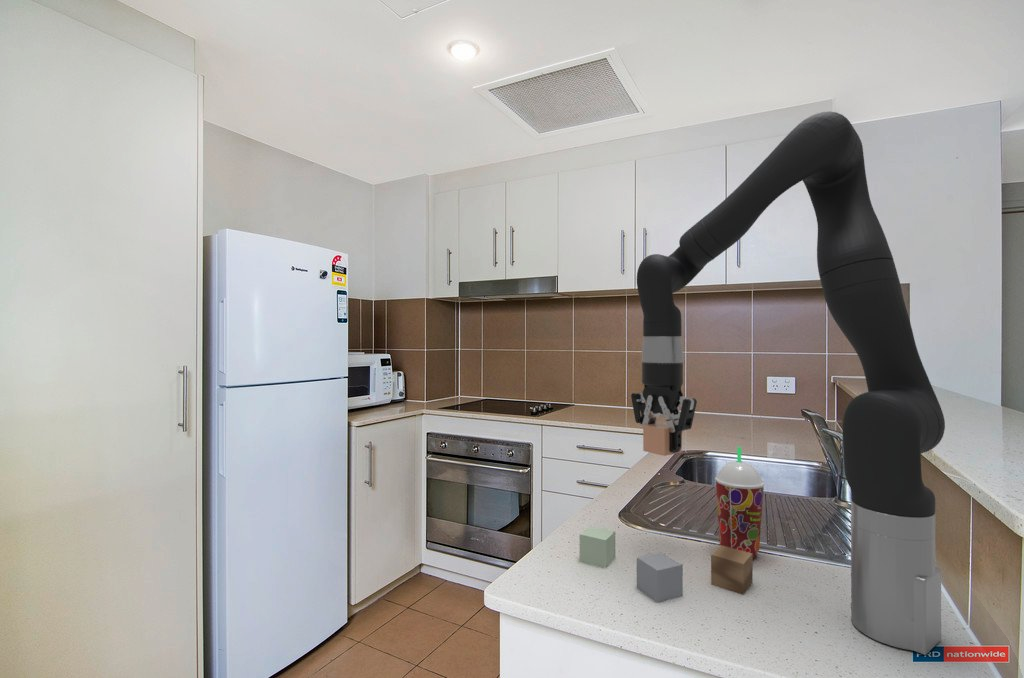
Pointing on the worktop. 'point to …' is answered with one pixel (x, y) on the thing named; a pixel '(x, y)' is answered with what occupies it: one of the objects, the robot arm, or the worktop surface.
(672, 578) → the grey block
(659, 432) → the terracotta block
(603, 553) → the sage block
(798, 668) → the worktop surface
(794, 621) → the worktop surface
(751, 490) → the smoothie
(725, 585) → the walnut block
